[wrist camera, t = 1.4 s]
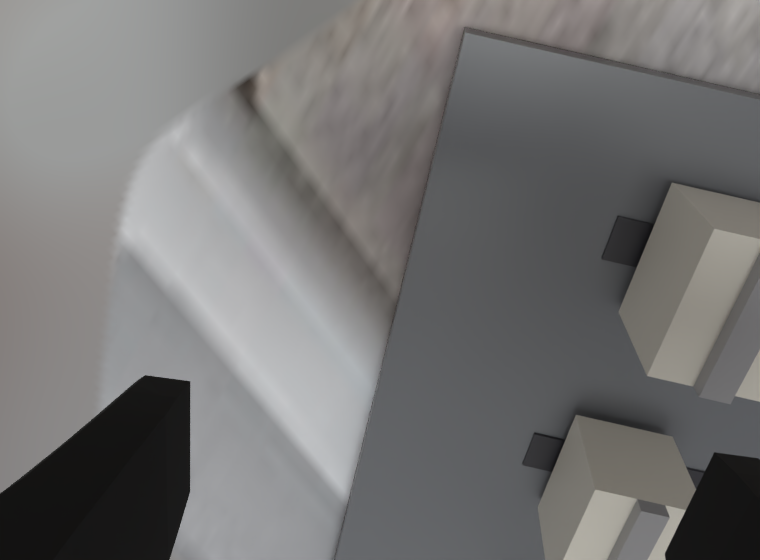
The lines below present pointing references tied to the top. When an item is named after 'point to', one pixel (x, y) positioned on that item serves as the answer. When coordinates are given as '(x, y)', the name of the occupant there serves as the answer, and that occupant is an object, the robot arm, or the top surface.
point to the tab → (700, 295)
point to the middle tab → (613, 494)
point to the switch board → (536, 295)
